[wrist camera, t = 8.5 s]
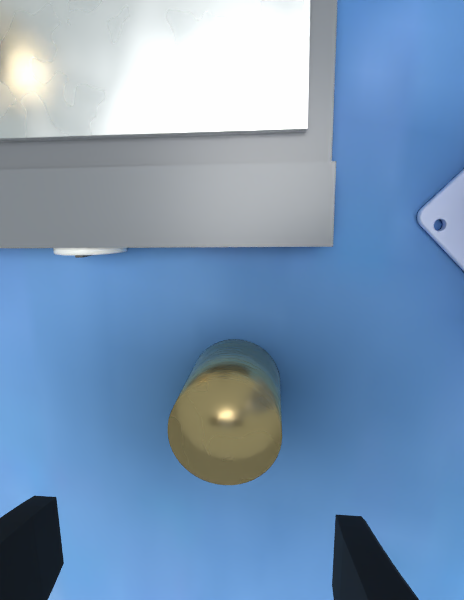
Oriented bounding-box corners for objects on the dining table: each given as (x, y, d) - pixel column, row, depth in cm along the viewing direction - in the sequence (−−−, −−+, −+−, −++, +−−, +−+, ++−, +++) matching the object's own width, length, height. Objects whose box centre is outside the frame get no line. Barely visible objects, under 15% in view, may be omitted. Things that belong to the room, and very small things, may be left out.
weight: (298, 383, 20) (306, 437, 15) (236, 437, 21) (225, 505, 16) (235, 321, 20) (222, 356, 15) (174, 379, 21) (144, 430, 16)
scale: (321, 249, 19) (332, 257, 15) (-82, 251, 21) (-154, 259, 17) (333, -130, 16) (350, -227, 12) (-140, -85, 18) (-242, -158, 14)
